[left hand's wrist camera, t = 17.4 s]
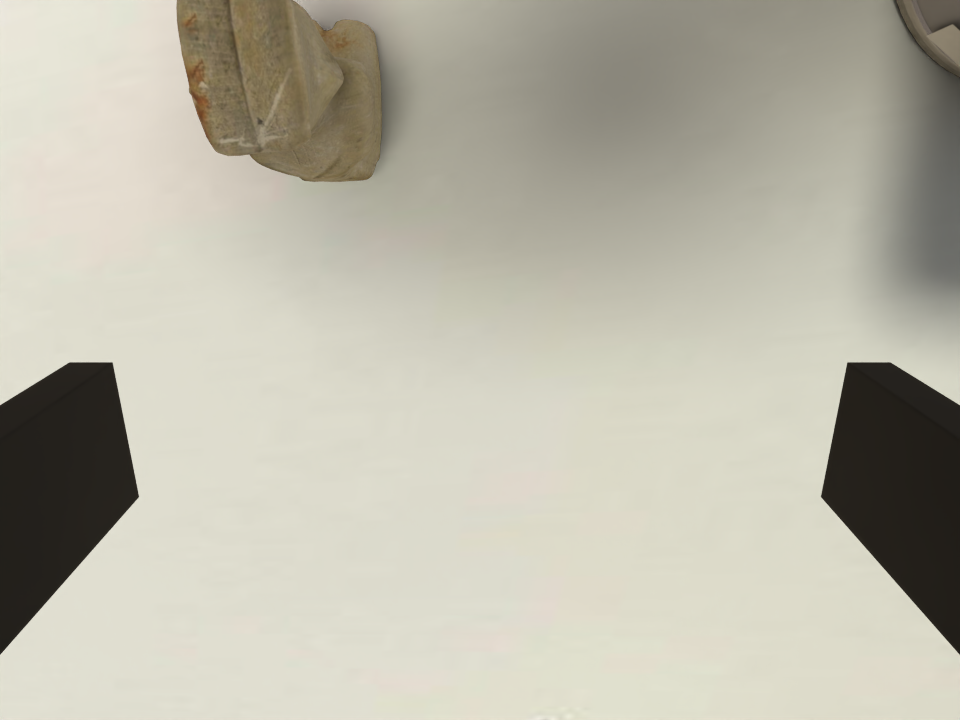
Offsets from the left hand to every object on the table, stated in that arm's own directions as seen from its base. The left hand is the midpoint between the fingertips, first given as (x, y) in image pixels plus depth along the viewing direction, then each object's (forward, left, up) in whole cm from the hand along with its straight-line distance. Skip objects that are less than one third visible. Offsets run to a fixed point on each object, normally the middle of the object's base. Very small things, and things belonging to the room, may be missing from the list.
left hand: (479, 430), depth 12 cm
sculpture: (+1, -9, -26) cm, 27 cm away
